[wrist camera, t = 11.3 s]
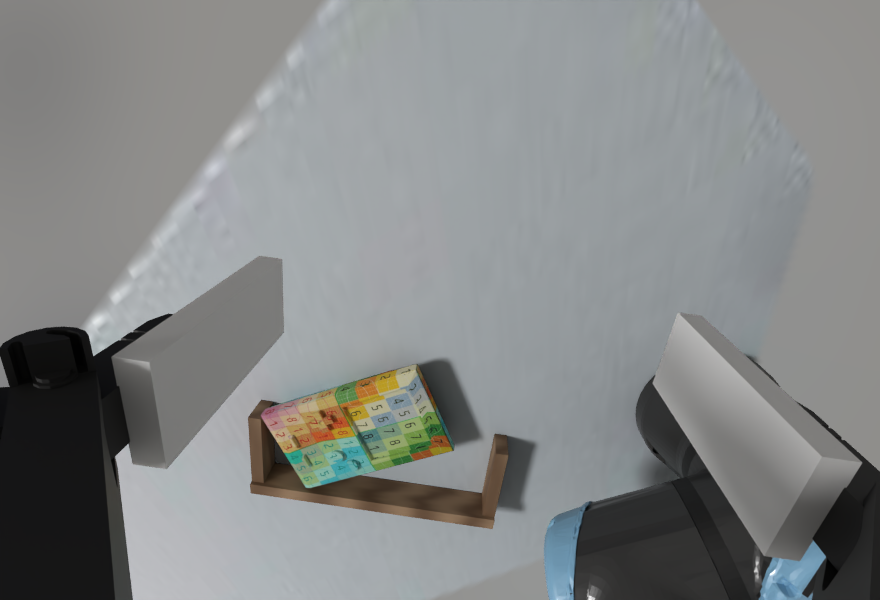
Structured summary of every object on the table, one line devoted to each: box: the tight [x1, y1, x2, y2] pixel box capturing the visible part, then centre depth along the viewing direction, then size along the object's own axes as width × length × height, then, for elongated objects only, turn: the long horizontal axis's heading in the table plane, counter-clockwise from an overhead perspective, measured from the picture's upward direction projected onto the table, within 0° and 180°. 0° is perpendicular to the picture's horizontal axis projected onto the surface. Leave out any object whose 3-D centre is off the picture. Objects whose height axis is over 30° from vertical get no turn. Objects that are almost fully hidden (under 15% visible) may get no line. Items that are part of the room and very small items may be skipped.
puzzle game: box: [260, 364, 454, 488], centre depth 54 cm, size 12×5×20 cm
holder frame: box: [248, 400, 509, 529], centre depth 57 cm, size 31×12×4 cm, turn 83°
